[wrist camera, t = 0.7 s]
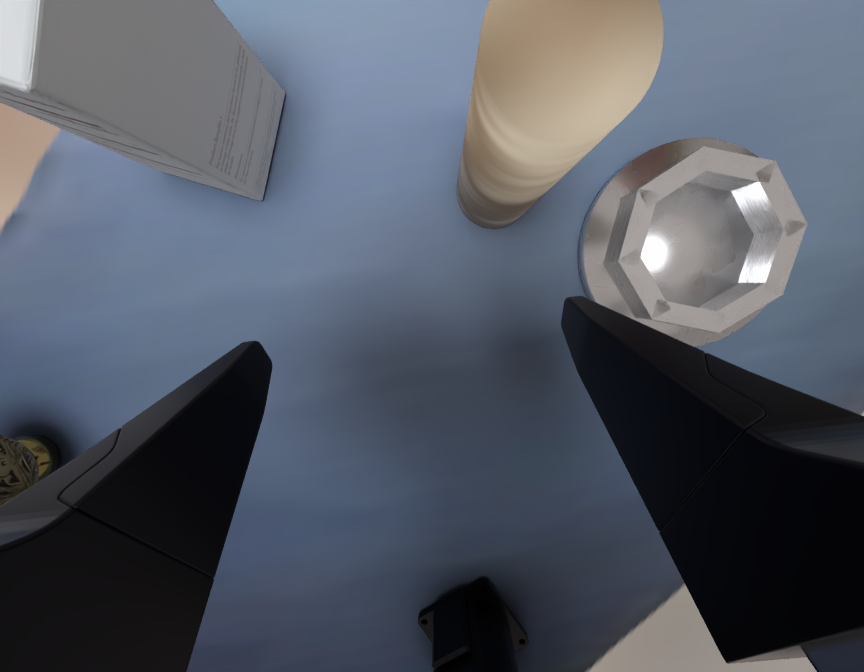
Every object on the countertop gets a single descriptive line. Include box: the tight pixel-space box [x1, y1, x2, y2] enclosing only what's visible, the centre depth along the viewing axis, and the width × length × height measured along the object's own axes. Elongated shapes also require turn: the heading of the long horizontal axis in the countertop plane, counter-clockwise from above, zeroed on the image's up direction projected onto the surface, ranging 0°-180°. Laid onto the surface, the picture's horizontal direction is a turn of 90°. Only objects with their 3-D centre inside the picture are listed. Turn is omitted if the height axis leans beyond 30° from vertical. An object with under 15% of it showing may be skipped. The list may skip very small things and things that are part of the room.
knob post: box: [457, 0, 664, 229], centre depth 15 cm, size 5×5×12 cm
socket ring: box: [578, 138, 808, 347], centre depth 20 cm, size 13×13×3 cm
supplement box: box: [0, 0, 285, 201], centre depth 15 cm, size 7×7×13 cm
